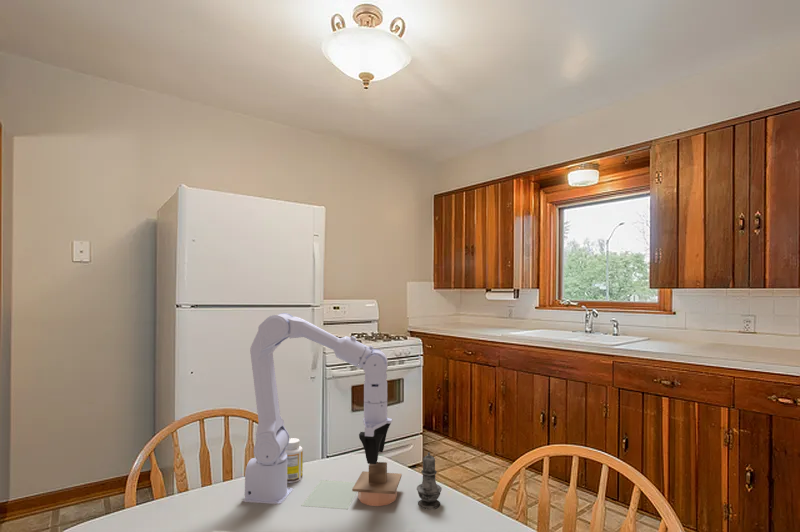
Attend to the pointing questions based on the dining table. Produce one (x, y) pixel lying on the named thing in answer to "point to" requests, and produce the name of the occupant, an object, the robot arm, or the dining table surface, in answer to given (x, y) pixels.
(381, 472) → the walnut lid
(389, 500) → the terracotta bowl
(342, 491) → the sage rubber mat
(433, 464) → the salt shaker
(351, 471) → the dining table surface
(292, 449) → the supplement bottle
